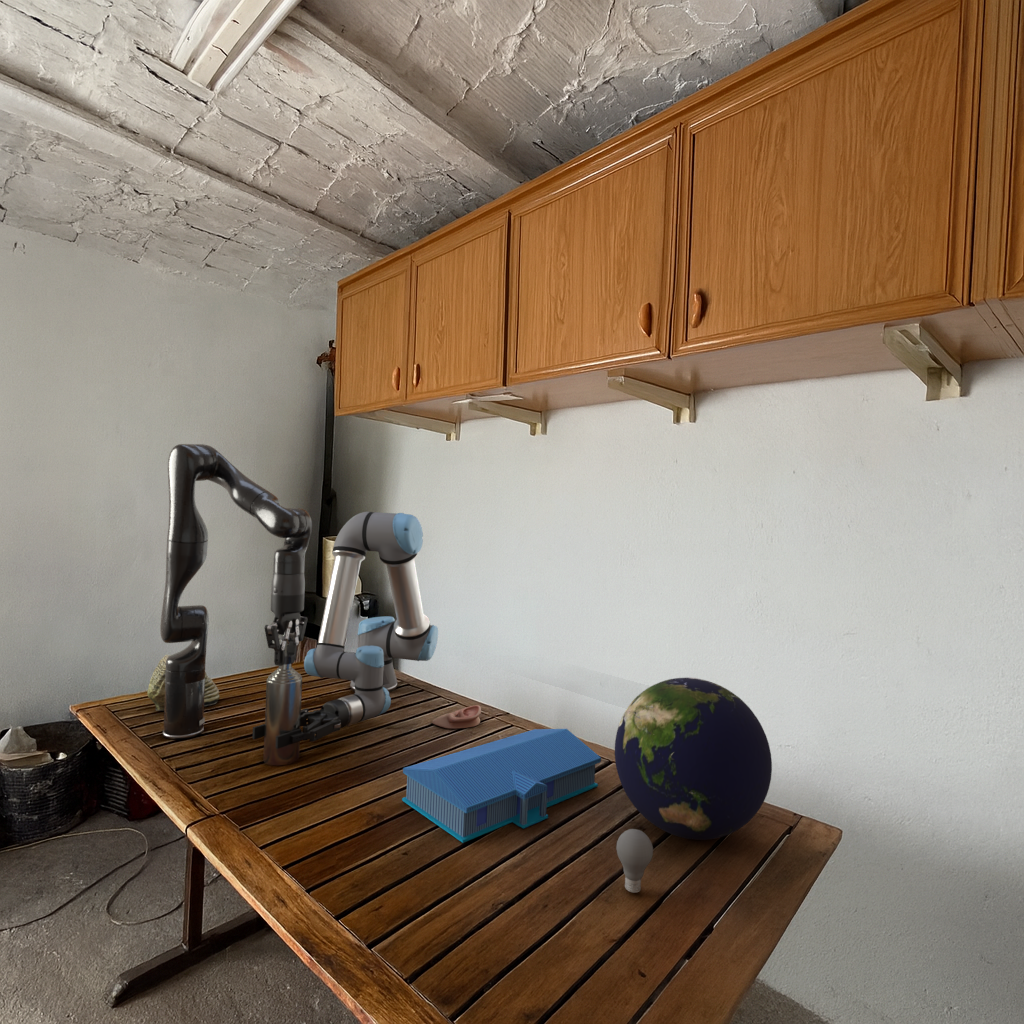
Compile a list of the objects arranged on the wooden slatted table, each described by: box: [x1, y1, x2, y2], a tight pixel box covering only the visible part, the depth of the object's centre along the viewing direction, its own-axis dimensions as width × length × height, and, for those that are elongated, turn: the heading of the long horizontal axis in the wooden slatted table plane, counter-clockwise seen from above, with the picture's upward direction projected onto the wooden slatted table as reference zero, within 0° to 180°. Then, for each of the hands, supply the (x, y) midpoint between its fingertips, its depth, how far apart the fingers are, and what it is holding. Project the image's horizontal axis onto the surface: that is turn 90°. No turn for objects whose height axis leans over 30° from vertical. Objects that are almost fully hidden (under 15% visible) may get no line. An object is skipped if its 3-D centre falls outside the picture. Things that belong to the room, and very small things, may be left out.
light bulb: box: [615, 828, 654, 894], centre depth 106 cm, size 6×6×10 cm
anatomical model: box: [431, 704, 482, 729], centre depth 181 cm, size 13×4×12 cm
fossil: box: [147, 654, 221, 712], centre depth 185 cm, size 9×18×15 cm, turn 132°
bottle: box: [263, 664, 303, 766], centre depth 152 cm, size 8×8×24 cm
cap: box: [284, 651, 295, 665], centre depth 152 cm, size 4×4×2 cm
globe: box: [614, 676, 773, 841], centre depth 126 cm, size 30×30×30 cm
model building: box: [401, 728, 602, 844], centre depth 138 cm, size 39×24×10 cm, turn 132°
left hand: (285, 662), depth 152 cm, fingers closed on cap, 4 cm apart
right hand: (265, 737), depth 148 cm, fingers closed on bottle, 8 cm apart
